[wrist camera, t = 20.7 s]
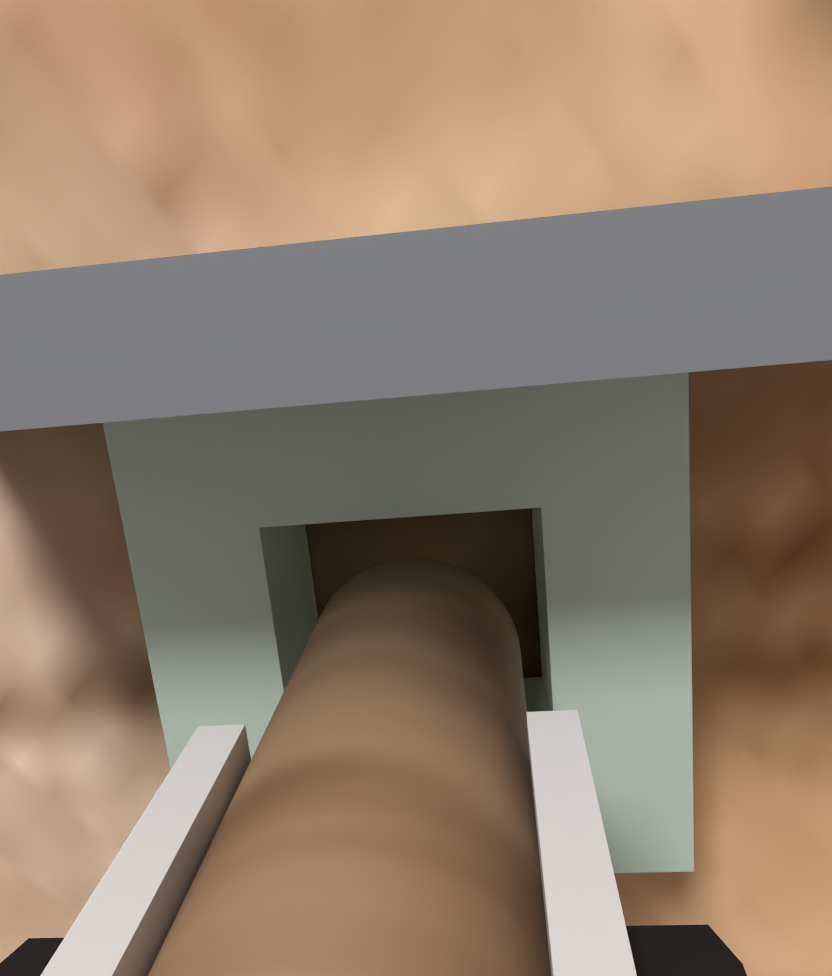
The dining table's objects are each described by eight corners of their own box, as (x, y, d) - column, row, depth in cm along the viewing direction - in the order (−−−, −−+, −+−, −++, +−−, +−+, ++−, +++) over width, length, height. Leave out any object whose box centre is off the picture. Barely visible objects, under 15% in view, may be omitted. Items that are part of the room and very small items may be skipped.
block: (656, 768, 22) (694, 871, 18) (240, 784, 23) (193, 884, 19) (645, 334, 19) (688, 348, 15) (170, 377, 20) (98, 400, 16)
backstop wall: (901, 297, 19) (1355, 314, 9) (-46, 385, 21) (-490, 474, 11) (906, 209, 18) (1392, 127, 9) (-65, 308, 20) (-546, 333, 11)
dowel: (527, 743, 17) (701, 2517, 4) (327, 751, 17) (-198, 2357, 4) (513, 551, 16) (690, 2054, 2) (301, 565, 16) (-545, 1902, 3)
